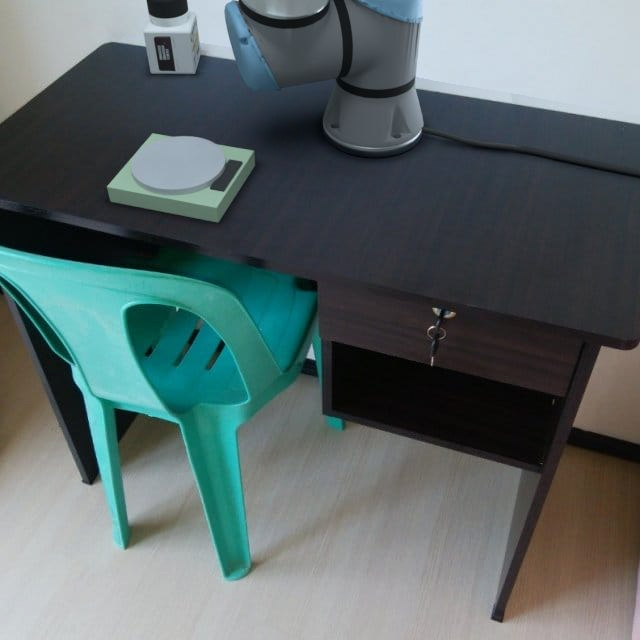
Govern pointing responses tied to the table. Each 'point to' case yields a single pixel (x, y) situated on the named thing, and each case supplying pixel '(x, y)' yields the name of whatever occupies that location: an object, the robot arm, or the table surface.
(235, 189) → the scale
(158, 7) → the container
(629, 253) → the table surface
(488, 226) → the table surface
